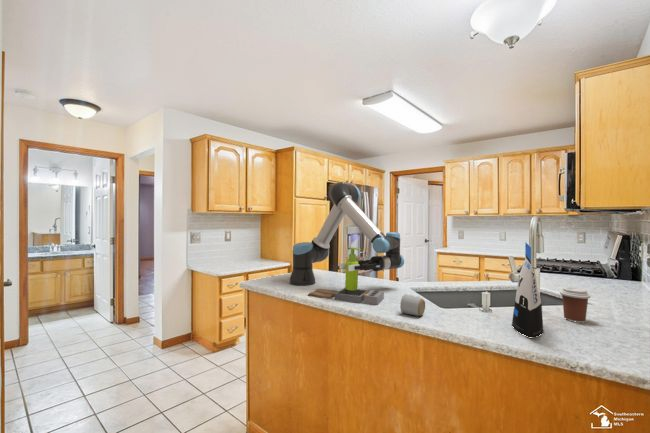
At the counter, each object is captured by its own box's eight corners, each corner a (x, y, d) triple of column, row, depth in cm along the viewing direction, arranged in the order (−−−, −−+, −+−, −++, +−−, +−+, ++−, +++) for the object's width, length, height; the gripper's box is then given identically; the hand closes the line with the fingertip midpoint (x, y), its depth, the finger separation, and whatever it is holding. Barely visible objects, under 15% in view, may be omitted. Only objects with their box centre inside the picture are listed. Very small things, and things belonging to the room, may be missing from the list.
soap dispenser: (356, 291, 143) (357, 249, 142) (343, 289, 146) (344, 247, 145) (361, 288, 148) (362, 247, 147) (348, 286, 151) (349, 246, 150)
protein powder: (539, 320, 118) (540, 242, 118) (547, 342, 97) (548, 248, 97) (510, 315, 123) (511, 241, 122) (512, 336, 102) (513, 246, 101)
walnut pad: (319, 290, 162) (319, 288, 162) (339, 293, 156) (339, 291, 156) (308, 295, 151) (308, 293, 151) (330, 298, 146) (330, 296, 146)
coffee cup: (594, 321, 116) (594, 290, 116) (583, 325, 112) (584, 293, 112) (566, 314, 124) (566, 285, 124) (555, 318, 120) (555, 287, 120)
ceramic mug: (419, 318, 118) (420, 299, 118) (399, 314, 123) (400, 295, 123) (428, 312, 127) (428, 294, 127) (409, 308, 132) (409, 291, 132)
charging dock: (344, 293, 156) (344, 285, 156) (384, 298, 147) (384, 290, 147) (334, 299, 144) (334, 291, 144) (376, 305, 135) (376, 296, 135)
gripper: (393, 273, 149) (356, 278, 136) (366, 267, 165) (332, 271, 152) (393, 258, 149) (357, 262, 136) (367, 253, 165) (332, 256, 152)
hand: (344, 267), depth 144 cm, fingers closed on soap dispenser, 6 cm apart
